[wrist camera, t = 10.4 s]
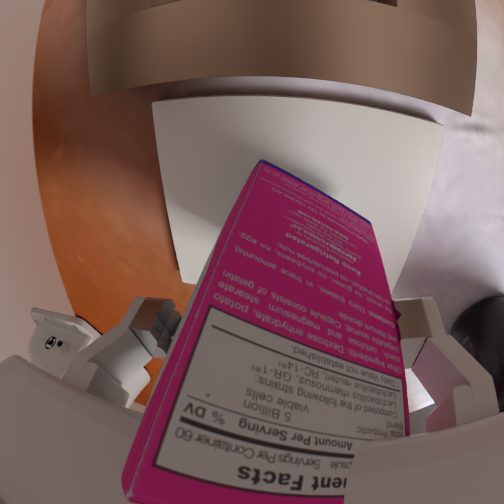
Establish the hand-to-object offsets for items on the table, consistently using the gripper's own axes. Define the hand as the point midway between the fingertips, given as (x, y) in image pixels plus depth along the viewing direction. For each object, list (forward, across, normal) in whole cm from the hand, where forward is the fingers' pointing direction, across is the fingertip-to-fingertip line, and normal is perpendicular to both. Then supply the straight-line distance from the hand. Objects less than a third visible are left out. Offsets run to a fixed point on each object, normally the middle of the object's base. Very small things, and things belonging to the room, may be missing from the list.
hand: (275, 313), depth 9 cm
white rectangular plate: (+7, 0, 0) cm, 7 cm away
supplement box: (+5, 0, 0) cm, 5 cm away
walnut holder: (+7, -2, -15) cm, 17 cm away
